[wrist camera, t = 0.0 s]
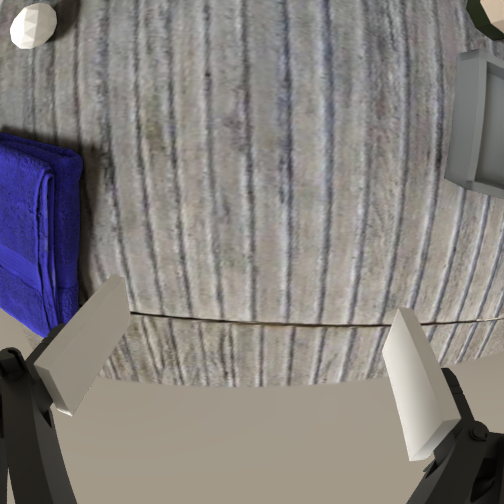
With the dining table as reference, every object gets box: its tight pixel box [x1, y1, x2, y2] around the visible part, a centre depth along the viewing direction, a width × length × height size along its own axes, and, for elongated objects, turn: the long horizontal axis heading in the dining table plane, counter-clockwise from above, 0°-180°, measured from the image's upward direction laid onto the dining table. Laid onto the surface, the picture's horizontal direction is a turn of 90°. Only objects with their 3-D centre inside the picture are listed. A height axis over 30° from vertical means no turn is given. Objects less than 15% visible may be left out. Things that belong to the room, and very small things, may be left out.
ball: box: [10, 3, 57, 49], centre depth 28 cm, size 8×8×8 cm
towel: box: [0, 133, 83, 338], centre depth 44 cm, size 26×36×9 cm
